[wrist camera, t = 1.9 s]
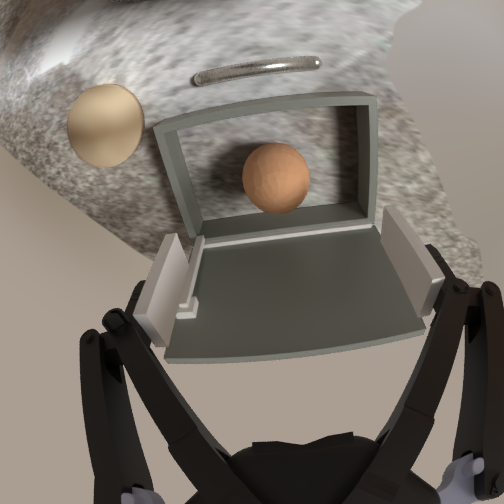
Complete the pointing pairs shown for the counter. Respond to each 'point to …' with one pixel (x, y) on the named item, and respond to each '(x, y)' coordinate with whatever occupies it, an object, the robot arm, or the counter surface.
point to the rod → (257, 69)
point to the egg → (276, 178)
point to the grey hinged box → (285, 261)
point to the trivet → (105, 125)
